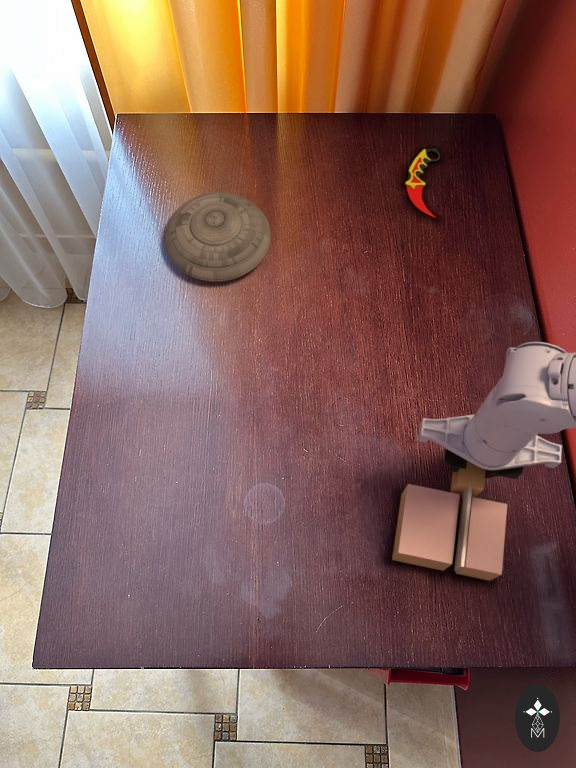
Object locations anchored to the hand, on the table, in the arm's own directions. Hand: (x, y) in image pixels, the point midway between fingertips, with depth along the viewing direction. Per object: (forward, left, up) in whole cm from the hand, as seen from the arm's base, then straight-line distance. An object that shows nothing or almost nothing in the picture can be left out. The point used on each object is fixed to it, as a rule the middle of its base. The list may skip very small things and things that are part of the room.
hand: (468, 466), depth 80 cm
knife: (+10, -44, -4) cm, 46 cm away
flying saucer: (+37, -27, -5) cm, 47 cm away
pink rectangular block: (+4, +8, -4) cm, 9 cm away
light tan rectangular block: (-3, +8, -4) cm, 9 cm away
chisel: (0, +5, -1) cm, 5 cm away
